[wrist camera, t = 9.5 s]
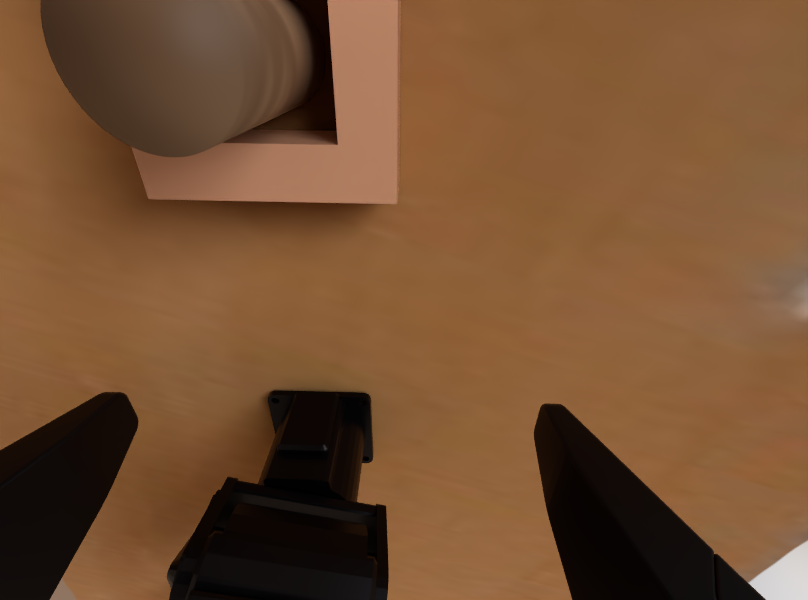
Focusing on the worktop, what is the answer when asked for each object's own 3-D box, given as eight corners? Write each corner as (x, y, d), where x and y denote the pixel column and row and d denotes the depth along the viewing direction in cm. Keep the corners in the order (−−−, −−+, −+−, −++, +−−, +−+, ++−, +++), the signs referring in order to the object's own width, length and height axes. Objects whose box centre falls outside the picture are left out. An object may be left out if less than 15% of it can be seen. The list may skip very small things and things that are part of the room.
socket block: (399, 182, 19) (397, 204, 16) (184, 178, 19) (148, 199, 16) (401, -121, 13) (398, -162, 11) (101, -124, 13) (28, -165, 11)
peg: (329, 110, 17) (258, 158, 9) (235, 109, 17) (89, 155, 9) (319, -8, 15) (218, -71, 7) (213, -9, 15) (0, -73, 7)
